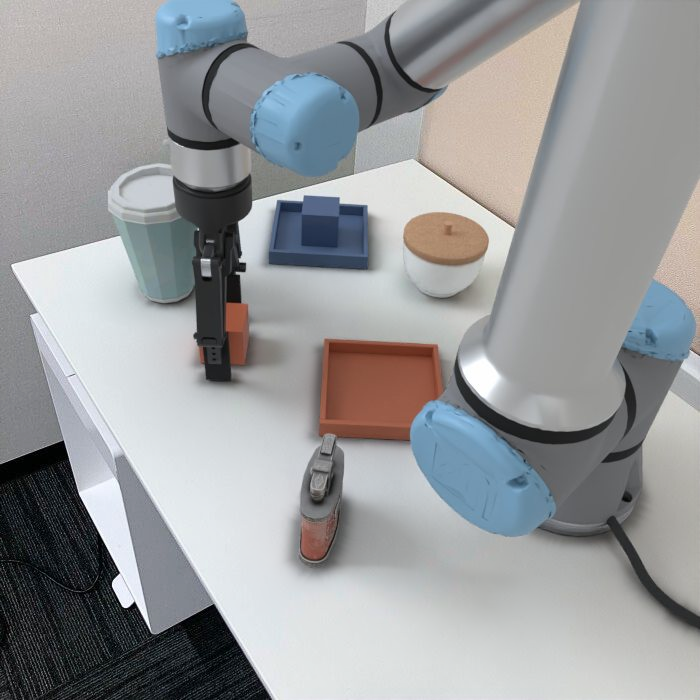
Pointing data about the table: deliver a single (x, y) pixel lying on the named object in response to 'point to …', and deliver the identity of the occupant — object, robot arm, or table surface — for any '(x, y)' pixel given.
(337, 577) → the table surface
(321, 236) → the slate block
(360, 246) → the slate tray
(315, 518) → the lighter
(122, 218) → the disposable coffee cup
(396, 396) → the terracotta tray
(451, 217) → the trinket box
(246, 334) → the terracotta block
